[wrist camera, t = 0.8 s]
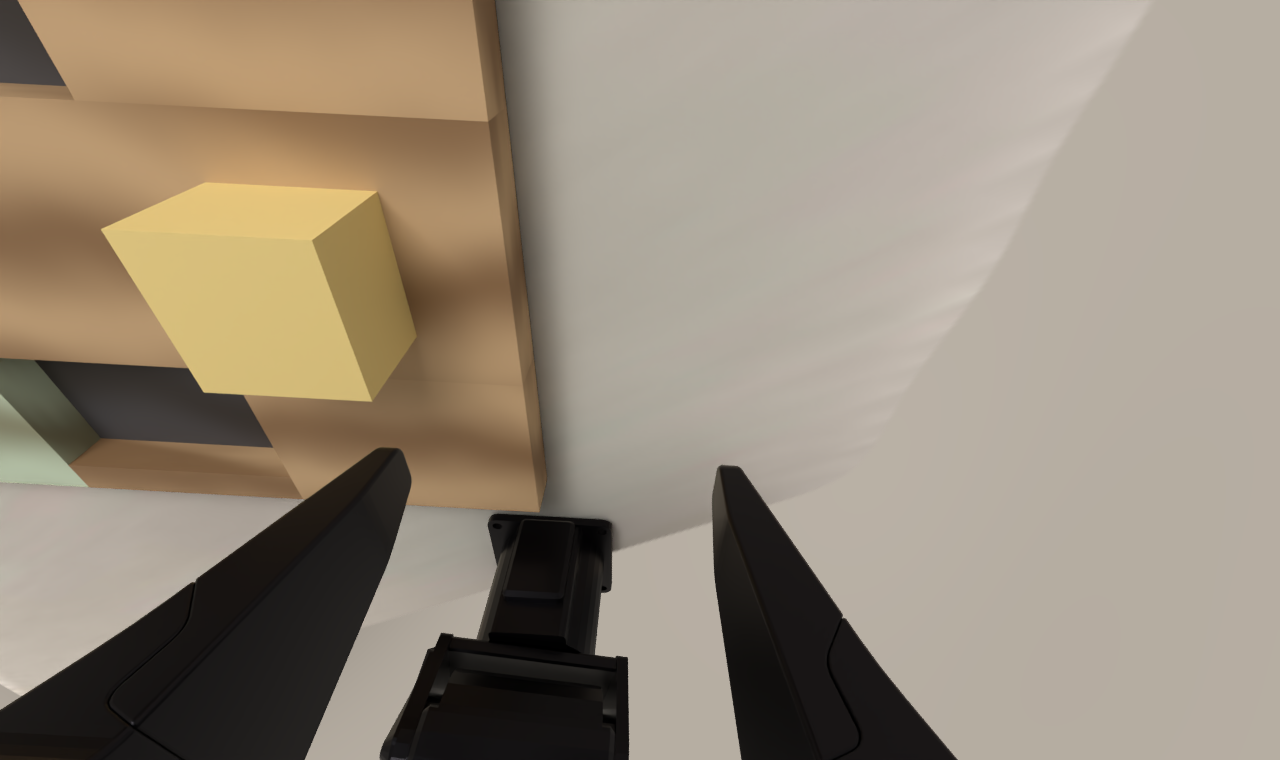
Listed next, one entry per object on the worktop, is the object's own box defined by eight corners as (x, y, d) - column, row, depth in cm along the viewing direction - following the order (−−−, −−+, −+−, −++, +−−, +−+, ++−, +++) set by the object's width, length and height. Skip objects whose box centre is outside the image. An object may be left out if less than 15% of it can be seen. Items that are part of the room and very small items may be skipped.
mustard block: (416, 336, 18) (371, 401, 15) (274, 328, 18) (203, 392, 15) (377, 191, 15) (312, 240, 12) (205, 182, 15) (100, 229, 12)
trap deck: (547, 479, 25) (539, 512, 24) (-96, 443, 26) (-146, 474, 24) (461, -302, 10) (426, -352, 9) (-1072, -374, 11) (-1372, -435, 9)
